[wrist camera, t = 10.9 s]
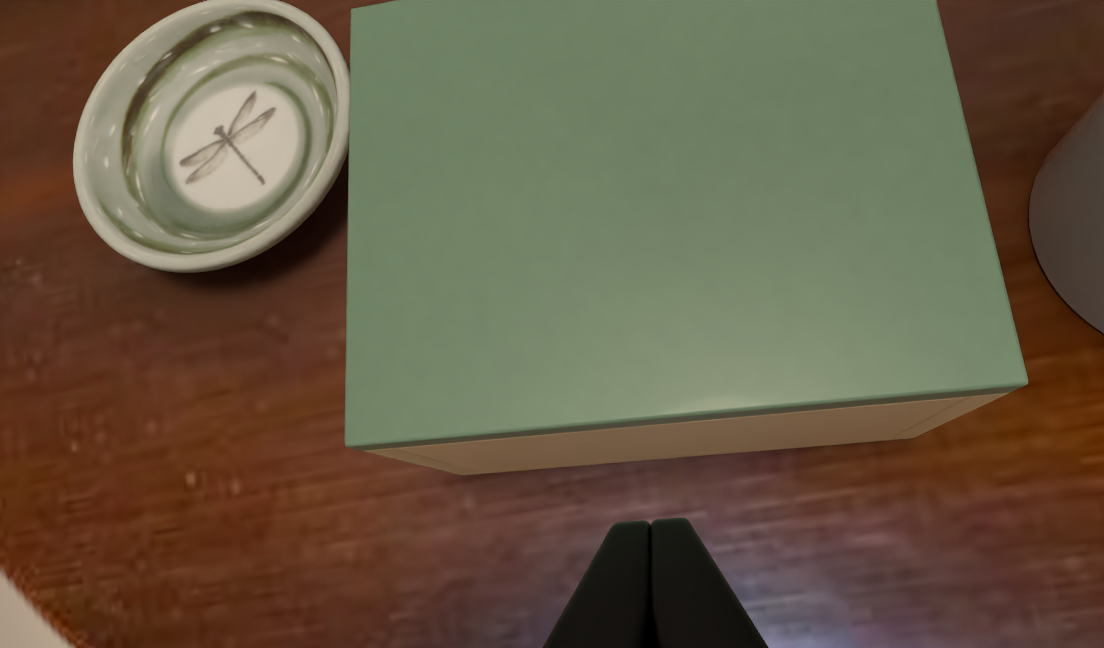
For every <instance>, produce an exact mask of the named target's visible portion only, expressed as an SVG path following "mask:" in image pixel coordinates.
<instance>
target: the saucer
mask: <svg viewBox="0 0 1104 648" xmlns="http://www.w3.org/2000/svg"><path fill="white" fill-rule="evenodd" d="M349 108H350V72H349V69H348V66H347V63H346V61H345V59H344V57H343V55H342V53H341V50H340V49H339V47H338V46H337V44H336V43H335V41H334V40H333V38H332V37H331V35H330V34H329V33H328V32H327V31H326V30H325V28H324V27H323V26H321V25H320V24H319V23H318V22H317V21H316V20H315V19H313V18H312V17H311V16H309V15H308V14H306V13H305V12H303V11H301V10H300V9H298V8H296V7H294V6H292V5H289V4H287V3H284V2H281V1H278V0H208V1H204V2H201V3H198V4H195V5H192V6H189V7H186V8H184V9H182V10H180V11H177V12H175V13H173V14H171V15H170V16H168V17H166V18H164V19H162V20H161V21H159V22H157V23H156V24H154V25H152V26H151V27H150V28H148V29H147V30H146V31H144V32H143V33H142V34H140V35H139V36H138V37H137V38H135V40H134V41H132V42H131V43H130V44H129V45H128V46H127V47H126V48H125V49H124V50H123V51H122V52H121V53H120V54H119V55H118V56H117V57H116V58H115V59H114V60H113V61H112V63H111V64H110V65H109V67H108V68H107V69H106V71H105V72H104V73H103V75H102V76H101V78H100V79H99V81H98V82H97V84H96V86H95V87H94V89H93V91H92V93H91V95H90V97H89V99H88V101H87V103H86V106H85V108H84V110H83V113H82V116H81V119H80V122H79V125H78V130H77V133H76V139H75V144H74V154H73V172H74V181H75V187H76V192H77V196H78V199H79V202H80V205H81V208H82V210H83V212H84V214H85V216H86V218H87V220H88V221H89V223H90V224H91V226H92V227H93V229H94V230H95V231H96V233H97V234H98V235H99V236H100V237H101V238H102V239H103V240H104V241H105V242H106V243H107V244H108V245H109V246H110V247H111V248H113V249H114V250H115V251H117V252H118V253H120V254H121V255H123V256H125V257H126V258H128V259H130V260H132V261H134V262H136V263H139V264H142V265H144V266H147V267H150V268H154V269H158V270H163V271H169V272H179V273H190V272H206V271H211V270H217V269H221V268H224V267H228V266H232V265H235V264H238V263H240V262H243V261H246V260H248V259H250V258H253V257H255V256H257V255H259V254H261V253H262V252H264V251H266V250H268V249H269V248H271V247H273V246H274V245H276V244H277V243H279V242H280V241H282V240H283V239H284V238H286V237H287V236H288V235H290V234H291V233H292V232H293V231H294V230H295V229H297V228H298V227H299V226H300V225H301V224H302V223H303V222H304V221H305V220H306V219H307V218H308V217H309V216H310V215H311V214H312V213H313V212H314V211H315V209H316V208H317V207H318V206H319V204H320V203H321V202H322V201H323V199H324V197H325V196H326V194H327V193H328V192H329V190H330V189H331V187H332V185H333V184H334V182H335V180H336V178H337V176H338V174H339V173H340V170H341V168H342V166H343V164H344V161H345V158H346V156H347V153H348V149H349Z"/></svg>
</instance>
